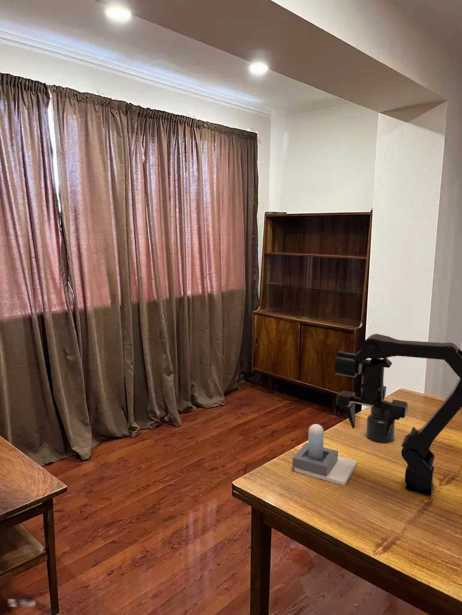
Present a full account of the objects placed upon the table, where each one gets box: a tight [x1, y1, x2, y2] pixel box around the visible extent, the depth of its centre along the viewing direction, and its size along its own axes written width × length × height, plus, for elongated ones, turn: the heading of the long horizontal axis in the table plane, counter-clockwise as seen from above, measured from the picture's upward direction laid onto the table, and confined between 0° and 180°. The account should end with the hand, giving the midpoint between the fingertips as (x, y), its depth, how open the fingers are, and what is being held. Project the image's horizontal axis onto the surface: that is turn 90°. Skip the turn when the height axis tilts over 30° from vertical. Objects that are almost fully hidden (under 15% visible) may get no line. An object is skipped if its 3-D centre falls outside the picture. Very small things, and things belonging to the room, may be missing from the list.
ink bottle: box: [365, 399, 396, 443], centre depth 149 cm, size 10×9×12 cm
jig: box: [292, 442, 358, 487], centre depth 131 cm, size 16×13×4 cm
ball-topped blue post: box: [307, 423, 325, 462], centre depth 131 cm, size 4×4×12 cm
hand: (369, 431), depth 126 cm, fingers open, 9 cm apart
